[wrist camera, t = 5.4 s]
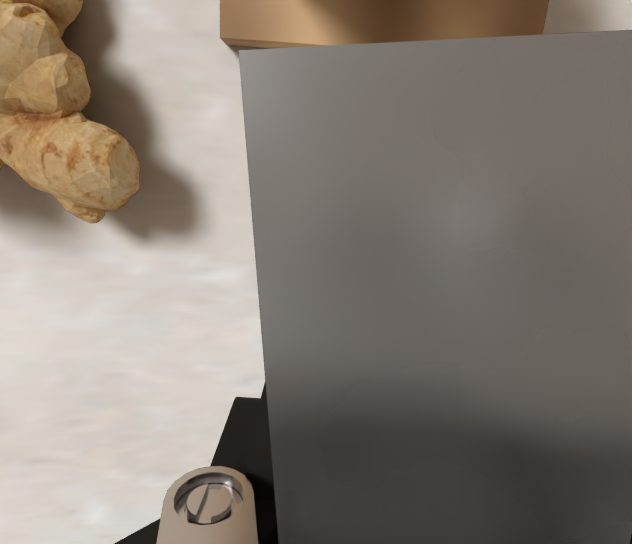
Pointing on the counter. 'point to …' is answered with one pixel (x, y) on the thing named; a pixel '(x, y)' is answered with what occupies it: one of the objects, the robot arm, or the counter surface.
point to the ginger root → (57, 114)
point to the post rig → (374, 21)
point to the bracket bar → (446, 287)
